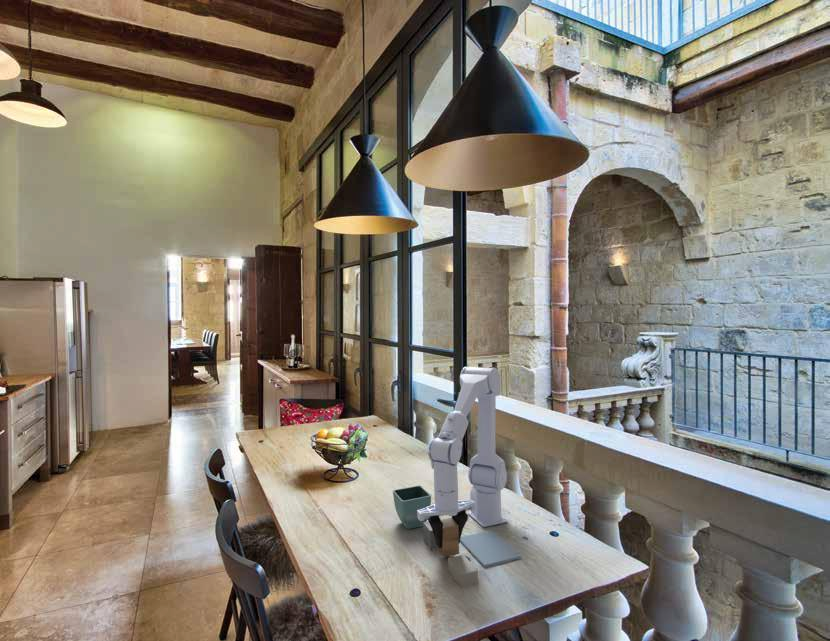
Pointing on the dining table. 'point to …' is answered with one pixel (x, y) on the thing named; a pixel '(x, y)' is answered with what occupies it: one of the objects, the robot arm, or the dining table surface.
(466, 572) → the pale grey block
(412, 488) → the flower pot
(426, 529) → the grey cube
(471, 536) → the slate mat
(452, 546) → the tall walnut block
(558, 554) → the dining table surface
